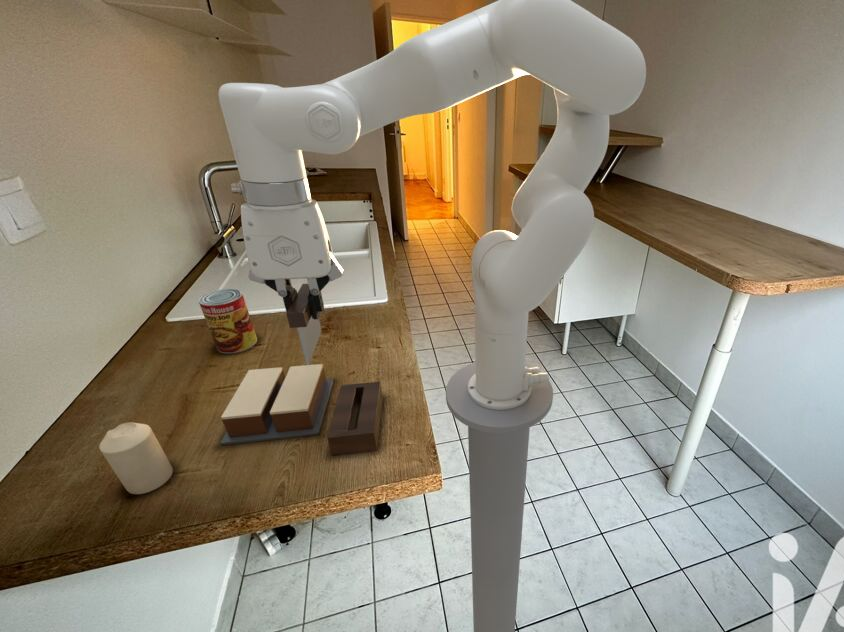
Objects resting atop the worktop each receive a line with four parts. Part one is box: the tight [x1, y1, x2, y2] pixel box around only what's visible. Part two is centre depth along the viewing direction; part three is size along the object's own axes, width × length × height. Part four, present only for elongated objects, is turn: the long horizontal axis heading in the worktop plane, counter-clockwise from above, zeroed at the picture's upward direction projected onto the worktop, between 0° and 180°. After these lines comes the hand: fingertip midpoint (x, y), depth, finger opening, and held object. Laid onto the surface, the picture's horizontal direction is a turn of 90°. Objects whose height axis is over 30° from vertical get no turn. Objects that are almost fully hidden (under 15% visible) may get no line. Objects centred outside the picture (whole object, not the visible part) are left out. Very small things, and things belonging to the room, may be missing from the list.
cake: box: [220, 363, 335, 446], centre depth 74 cm, size 15×15×5 cm
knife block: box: [327, 381, 384, 456], centre depth 72 cm, size 13×7×4 cm, turn 11°
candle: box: [98, 421, 174, 495], centre depth 59 cm, size 6×6×10 cm
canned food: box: [198, 288, 258, 354], centre depth 90 cm, size 8×8×12 cm
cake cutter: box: [285, 283, 323, 365], centre depth 63 cm, size 10×2×9 cm, turn 12°
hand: (307, 315), depth 63 cm, fingers closed on cake cutter, 2 cm apart
